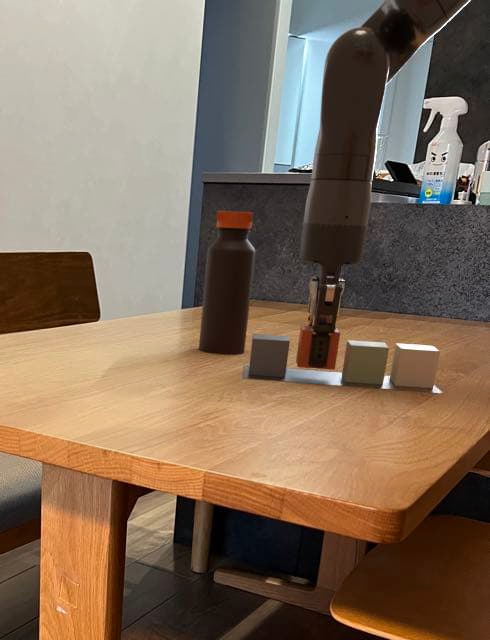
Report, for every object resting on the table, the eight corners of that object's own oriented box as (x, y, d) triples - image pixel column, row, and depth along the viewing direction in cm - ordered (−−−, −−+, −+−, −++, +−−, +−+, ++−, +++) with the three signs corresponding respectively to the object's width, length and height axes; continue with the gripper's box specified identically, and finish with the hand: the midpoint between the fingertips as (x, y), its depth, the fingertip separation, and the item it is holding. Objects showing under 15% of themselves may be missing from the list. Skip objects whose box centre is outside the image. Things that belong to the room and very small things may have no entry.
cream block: (426, 382, 110) (433, 345, 109) (433, 388, 106) (440, 351, 104) (389, 379, 111) (395, 343, 109) (394, 385, 107) (401, 348, 105)
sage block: (378, 378, 111) (384, 342, 109) (382, 384, 107) (389, 347, 105) (341, 375, 112) (347, 340, 110) (345, 382, 108) (350, 345, 106)
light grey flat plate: (427, 383, 113) (428, 378, 113) (442, 398, 104) (443, 393, 103) (243, 369, 117) (243, 365, 116) (242, 382, 107) (242, 378, 107)
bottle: (207, 358, 124) (221, 211, 117) (192, 350, 130) (204, 210, 123) (251, 358, 126) (267, 213, 119) (233, 351, 132) (248, 212, 125)
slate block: (284, 371, 113) (288, 336, 111) (285, 377, 109) (289, 340, 107) (248, 369, 114) (252, 333, 112) (248, 374, 110) (252, 338, 108)
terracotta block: (331, 363, 112) (337, 327, 110) (334, 369, 107) (340, 332, 106) (295, 361, 112) (300, 325, 111) (297, 367, 108) (302, 329, 106)
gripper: (375, 223, 96) (351, 375, 103) (360, 222, 110) (340, 357, 116) (306, 220, 98) (287, 370, 104) (301, 219, 111) (284, 353, 117)
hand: (315, 362), depth 110 cm, fingers closed on terracotta block, 4 cm apart
